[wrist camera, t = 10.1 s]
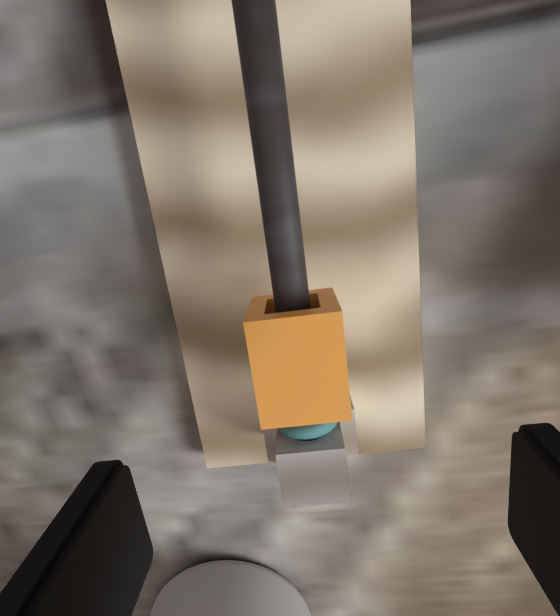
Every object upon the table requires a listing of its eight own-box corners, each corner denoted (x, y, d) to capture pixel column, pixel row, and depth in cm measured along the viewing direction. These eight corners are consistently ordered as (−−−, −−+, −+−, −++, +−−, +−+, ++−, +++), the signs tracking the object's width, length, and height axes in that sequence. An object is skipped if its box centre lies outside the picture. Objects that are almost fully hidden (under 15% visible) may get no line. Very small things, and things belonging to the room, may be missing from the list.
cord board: (98, -83, 19) (-69, -318, 10) (395, -138, 18) (495, -449, 9) (211, 453, 27) (173, 579, 19) (418, 433, 26) (481, 555, 18)
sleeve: (252, 297, 20) (243, 322, 16) (332, 287, 20) (342, 311, 16) (266, 386, 21) (261, 429, 18) (341, 378, 21) (352, 420, 17)
